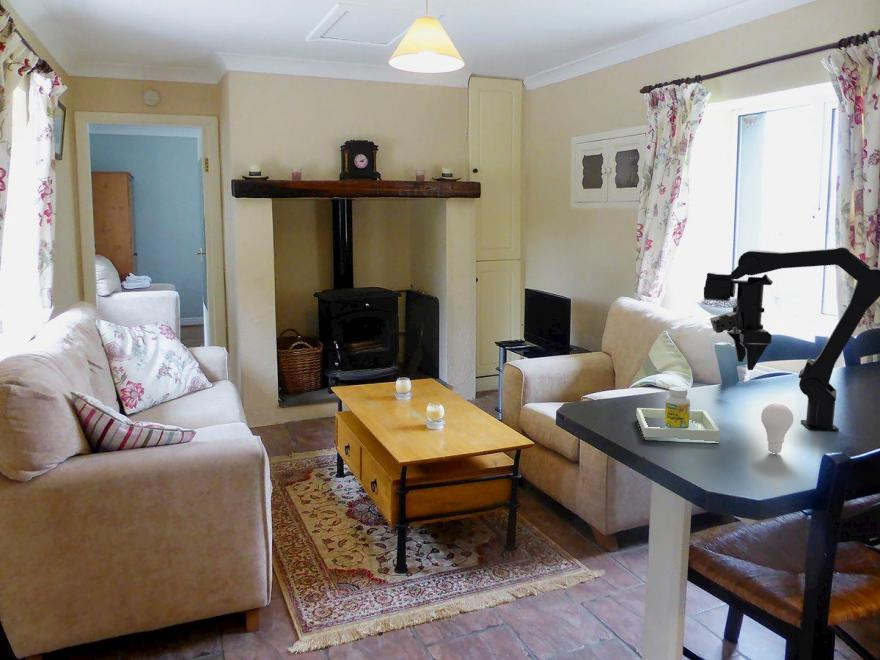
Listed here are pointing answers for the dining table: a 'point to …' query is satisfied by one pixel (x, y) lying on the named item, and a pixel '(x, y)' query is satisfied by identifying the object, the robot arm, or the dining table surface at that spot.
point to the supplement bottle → (677, 408)
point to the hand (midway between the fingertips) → (744, 365)
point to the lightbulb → (776, 425)
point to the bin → (699, 416)
